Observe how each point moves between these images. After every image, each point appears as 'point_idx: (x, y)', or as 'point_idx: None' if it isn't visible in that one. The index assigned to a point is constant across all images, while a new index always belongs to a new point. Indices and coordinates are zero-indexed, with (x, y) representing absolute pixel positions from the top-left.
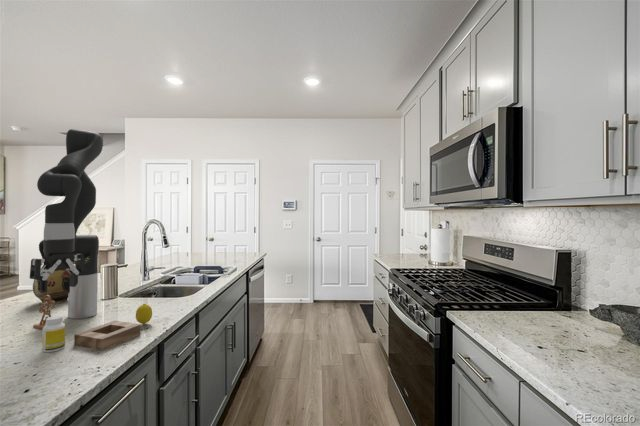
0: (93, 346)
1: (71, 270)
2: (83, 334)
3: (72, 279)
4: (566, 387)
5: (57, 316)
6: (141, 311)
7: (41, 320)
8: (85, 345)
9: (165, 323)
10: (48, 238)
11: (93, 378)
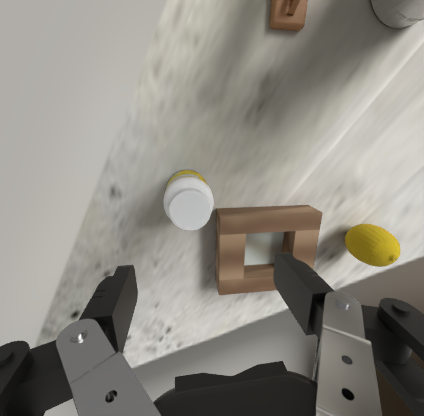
0: (216, 263)
1: (313, 374)
2: (226, 236)
3: (293, 297)
4: None
5: (202, 207)
6: (364, 258)
7: None
8: (216, 242)
9: (362, 266)
10: None
11: (142, 352)
